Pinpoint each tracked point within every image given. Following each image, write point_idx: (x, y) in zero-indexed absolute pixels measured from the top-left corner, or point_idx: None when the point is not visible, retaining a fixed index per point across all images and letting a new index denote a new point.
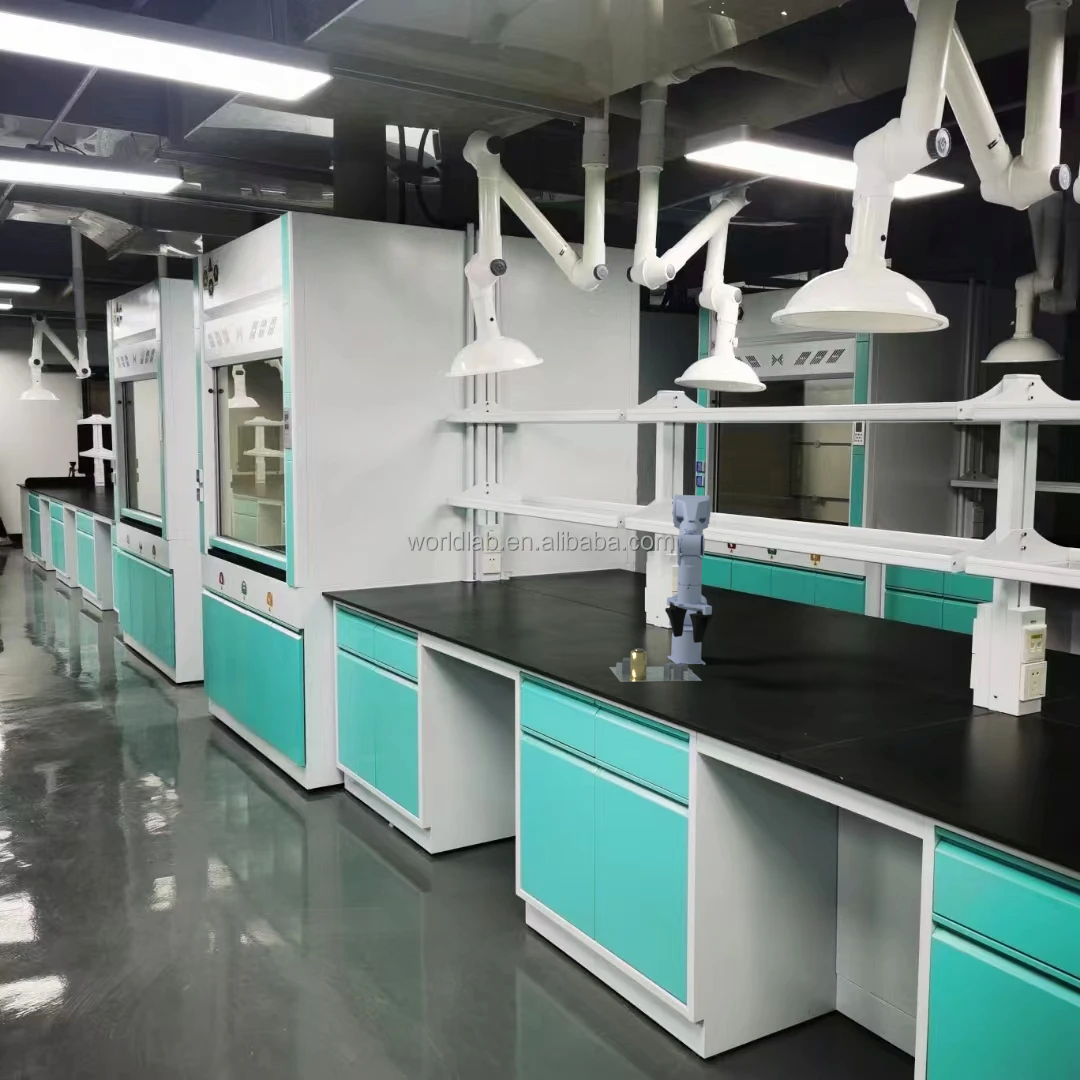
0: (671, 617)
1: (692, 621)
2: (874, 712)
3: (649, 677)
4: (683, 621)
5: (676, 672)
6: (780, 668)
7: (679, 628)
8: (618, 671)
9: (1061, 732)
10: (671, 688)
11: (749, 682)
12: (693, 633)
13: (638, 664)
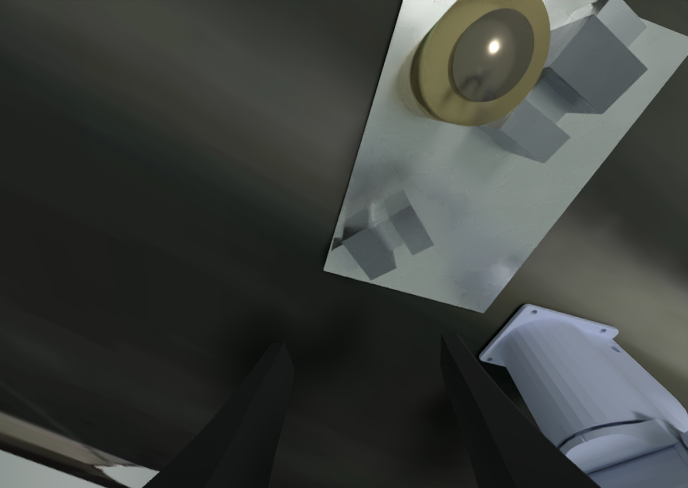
0: (524, 471)
1: (195, 483)
2: (80, 388)
3: (422, 135)
4: (473, 468)
5: (358, 221)
6: (380, 429)
7: (457, 398)
8: (571, 20)
9: (32, 458)
10: (286, 149)
11: (299, 349)
12: (257, 383)
13: (420, 43)
